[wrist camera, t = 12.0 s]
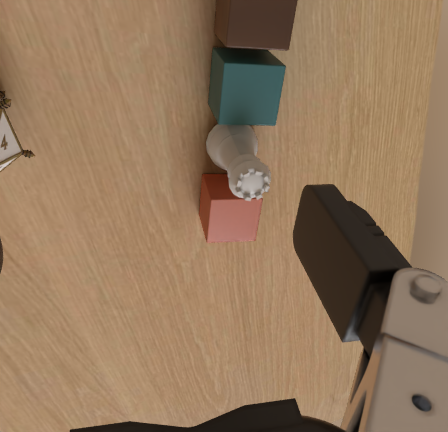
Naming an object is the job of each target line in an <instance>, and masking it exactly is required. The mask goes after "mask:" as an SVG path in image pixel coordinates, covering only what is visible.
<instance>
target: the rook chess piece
mask: <svg viewBox="0 0 448 432" xmlns="http://www.w3.org/2000/svg"><path fill="white" fill-rule="evenodd" d="M206 147H207V153H208V154H209V156H210V158H211V159H212V161H213V163H214V164H215V165H217V166H218V167H220V168H221V169H223V170H227V172H228V178H229V188H230V190H231V191H232V193H233V194H234V195H236V196H238V197H239V198H244V200H246V201H251V198H254V197H256V199H257V200H258V199H260V198H262V197H263V196H262V193H263V192H264V191H266V192H268V190H269V187H270V186H269V183H270V181H271V172H270V170H269V168H268V167H267V166H266V165H265V164H264V163H262V162H261V161H260V159H259V158H257V157H256V153H257V151H258V142H257V137H256V135H255V133H254V131H253V129H252V127H251V126H250V125H219V124H217V125H215V127H214V128H213V129H212V130H211V132H210V133H209V135H208V138H207V141H206Z"/></svg>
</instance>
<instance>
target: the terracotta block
mask: <svg viewBox="0 0 448 432" xmlns="http://www.w3.org/2000/svg"><path fill="white" fill-rule="evenodd" d="M262 200H263V198H260V199H258V200H257V199H256V197H254V198H251V201H246V200H244V198H239V197H238V196H236V195H234V194H233V193H232V191H231V190H230V188H229V178H228V174H202V185H201V197H200V209H199V216H200V220H201V223H202V227H203V231H204V234H205V238H206V242H207V243H215V242H237V241H255V240H256V234H257V229H258V223H259V217H260V212H261V206H262Z"/></svg>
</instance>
